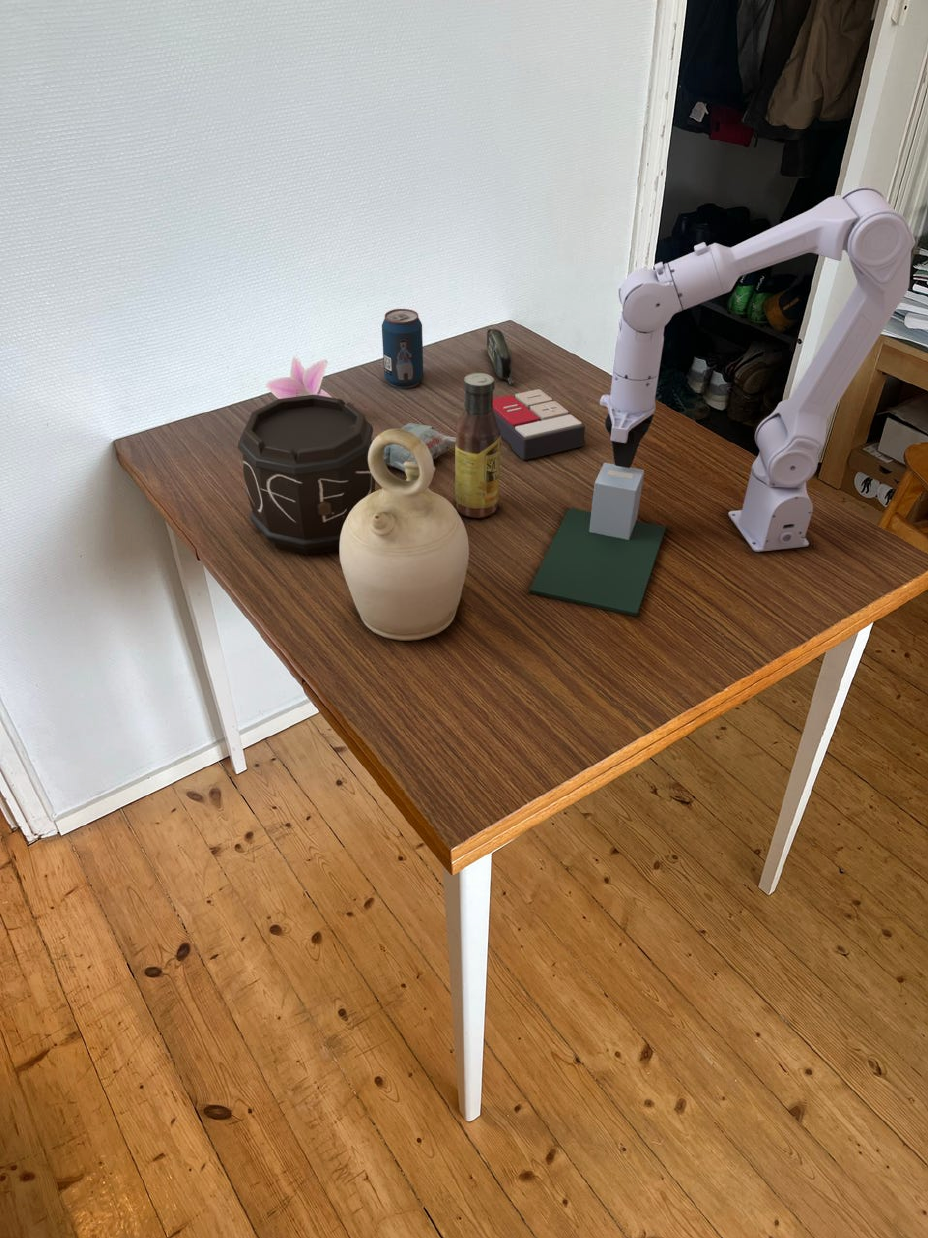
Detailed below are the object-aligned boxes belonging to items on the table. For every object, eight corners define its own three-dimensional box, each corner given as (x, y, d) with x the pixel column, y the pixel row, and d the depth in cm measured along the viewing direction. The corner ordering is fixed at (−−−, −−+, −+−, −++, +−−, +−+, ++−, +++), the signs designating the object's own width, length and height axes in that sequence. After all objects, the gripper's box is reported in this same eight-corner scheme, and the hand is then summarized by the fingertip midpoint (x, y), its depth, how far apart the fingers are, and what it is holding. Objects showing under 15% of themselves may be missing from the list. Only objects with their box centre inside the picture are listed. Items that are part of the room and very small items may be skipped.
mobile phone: (484, 326, 171) (501, 359, 159) (500, 325, 171) (518, 358, 160) (484, 352, 174) (500, 386, 162) (500, 351, 174) (517, 385, 163)
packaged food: (458, 454, 145) (458, 426, 142) (412, 487, 137) (411, 458, 134) (414, 439, 149) (412, 411, 146) (367, 470, 141) (364, 442, 138)
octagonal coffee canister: (260, 571, 122) (242, 468, 112) (245, 499, 135) (228, 400, 125) (393, 549, 126) (387, 447, 116) (366, 481, 139) (359, 384, 129)
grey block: (604, 461, 127) (594, 482, 123) (644, 469, 125) (636, 490, 121) (598, 510, 132) (589, 532, 128) (637, 518, 131) (628, 540, 127)
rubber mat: (568, 511, 133) (568, 507, 133) (665, 530, 129) (665, 526, 129) (528, 592, 119) (529, 589, 118) (636, 617, 115) (637, 613, 115)
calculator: (540, 385, 155) (586, 421, 144) (539, 409, 158) (585, 446, 147) (481, 398, 151) (524, 435, 141) (481, 422, 154) (523, 460, 143)
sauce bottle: (494, 522, 131) (498, 393, 118) (450, 517, 132) (450, 388, 119) (501, 498, 136) (506, 371, 123) (460, 493, 136) (460, 367, 124)
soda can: (407, 368, 168) (405, 303, 160) (431, 382, 164) (430, 316, 156) (376, 379, 165) (372, 313, 157) (399, 393, 161) (397, 326, 153)
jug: (402, 557, 124) (394, 385, 108) (493, 604, 117) (498, 427, 101) (320, 614, 115) (297, 436, 99) (412, 668, 108) (404, 485, 92)
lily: (268, 411, 158) (247, 377, 149) (324, 372, 159) (307, 336, 150) (304, 457, 153) (285, 425, 144) (362, 416, 154) (346, 382, 145)
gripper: (617, 342, 122) (606, 434, 131) (591, 390, 112) (581, 486, 121) (670, 350, 120) (655, 442, 129) (649, 399, 110) (634, 496, 119)
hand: (623, 464), depth 125 cm, fingers closed
